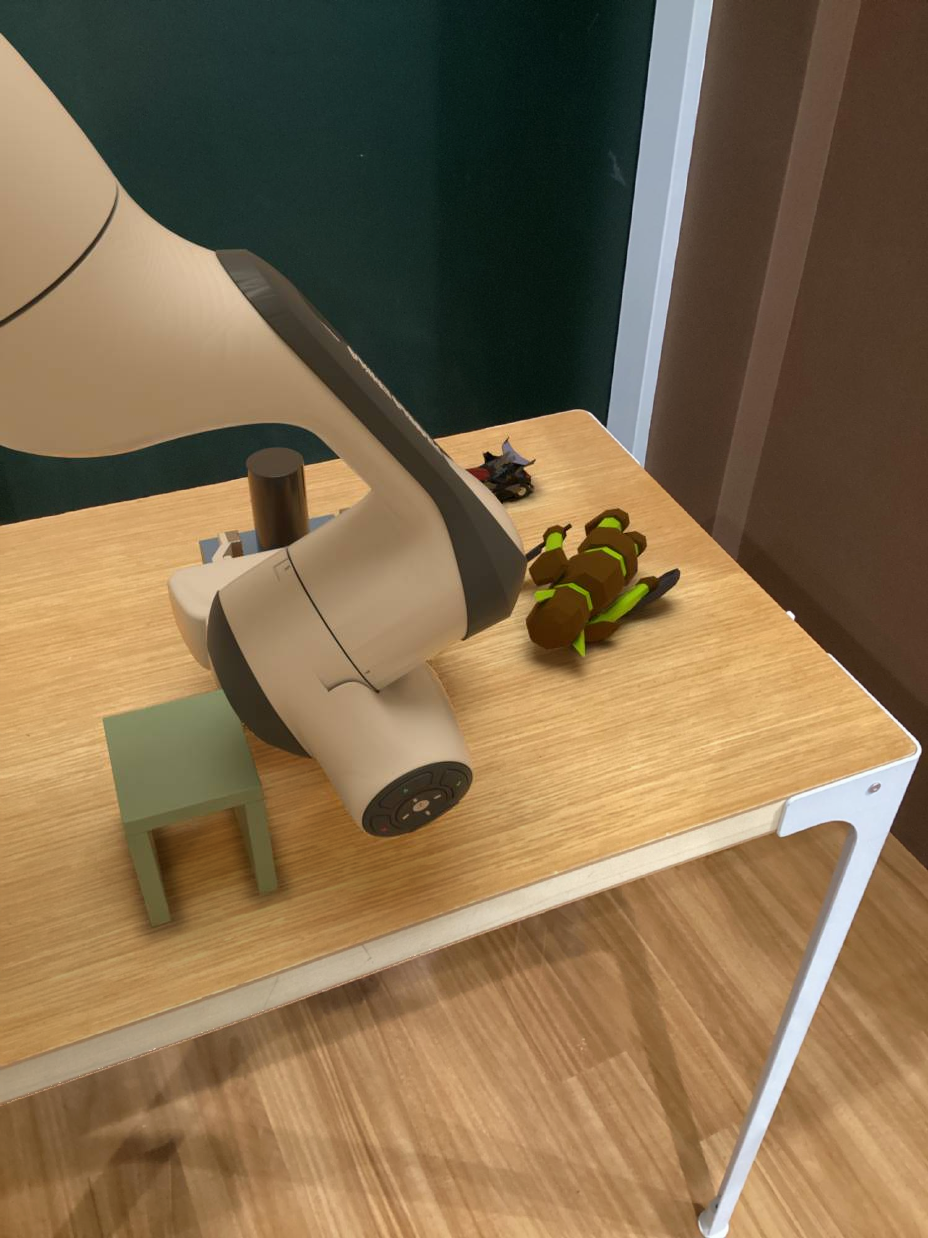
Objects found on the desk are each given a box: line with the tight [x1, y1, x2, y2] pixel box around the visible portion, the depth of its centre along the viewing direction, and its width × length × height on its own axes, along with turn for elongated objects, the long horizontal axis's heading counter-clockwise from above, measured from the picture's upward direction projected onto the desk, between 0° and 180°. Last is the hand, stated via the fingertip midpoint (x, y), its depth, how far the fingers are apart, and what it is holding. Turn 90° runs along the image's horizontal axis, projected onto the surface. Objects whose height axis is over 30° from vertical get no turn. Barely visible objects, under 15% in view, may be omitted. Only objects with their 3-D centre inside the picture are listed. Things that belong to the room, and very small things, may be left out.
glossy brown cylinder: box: [245, 446, 310, 553], centre depth 86 cm, size 4×4×10 cm
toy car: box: [464, 436, 537, 502], centre depth 103 cm, size 6×12×4 cm, turn 119°
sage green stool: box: [102, 689, 279, 928], centre depth 68 cm, size 8×9×10 cm
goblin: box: [525, 507, 681, 658], centre depth 89 cm, size 10×14×15 cm
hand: (289, 526), depth 82 cm, fingers open, 8 cm apart
